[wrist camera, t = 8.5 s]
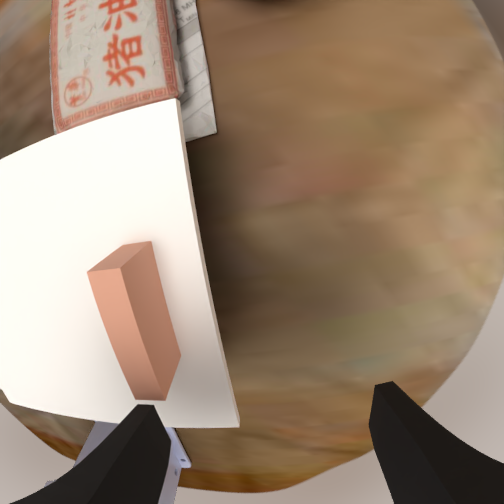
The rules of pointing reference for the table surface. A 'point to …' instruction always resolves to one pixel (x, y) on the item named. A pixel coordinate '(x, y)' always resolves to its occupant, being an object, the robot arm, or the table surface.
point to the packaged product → (128, 61)
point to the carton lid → (109, 277)
